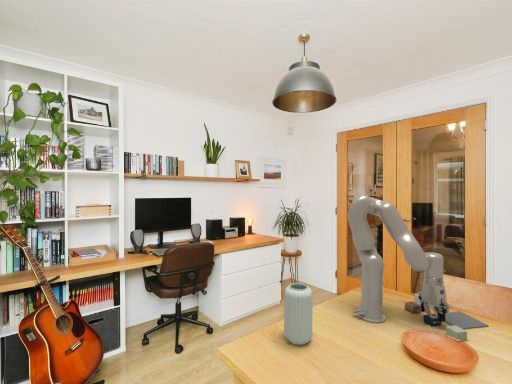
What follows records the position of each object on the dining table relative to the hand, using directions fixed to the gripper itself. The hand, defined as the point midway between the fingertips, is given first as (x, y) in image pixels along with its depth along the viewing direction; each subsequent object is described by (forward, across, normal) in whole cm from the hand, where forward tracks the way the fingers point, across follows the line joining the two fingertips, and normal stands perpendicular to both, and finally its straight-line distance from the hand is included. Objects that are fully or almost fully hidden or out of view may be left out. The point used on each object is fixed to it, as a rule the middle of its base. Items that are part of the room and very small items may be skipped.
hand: (432, 316), depth 125 cm
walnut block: (+4, +12, 0) cm, 13 cm away
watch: (+4, 0, 0) cm, 4 cm away
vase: (+4, -1, +66) cm, 66 cm away
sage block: (+4, -12, 0) cm, 12 cm away
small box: (+4, +18, -13) cm, 22 cm away
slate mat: (+3, 0, -15) cm, 15 cm away
